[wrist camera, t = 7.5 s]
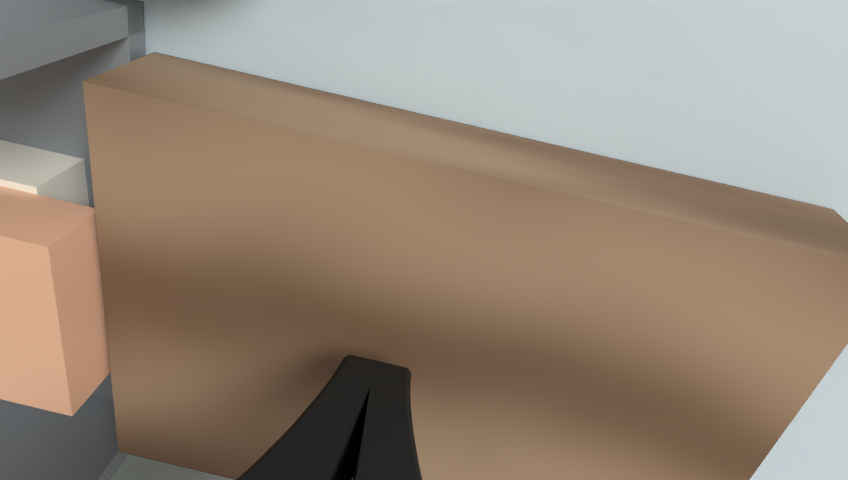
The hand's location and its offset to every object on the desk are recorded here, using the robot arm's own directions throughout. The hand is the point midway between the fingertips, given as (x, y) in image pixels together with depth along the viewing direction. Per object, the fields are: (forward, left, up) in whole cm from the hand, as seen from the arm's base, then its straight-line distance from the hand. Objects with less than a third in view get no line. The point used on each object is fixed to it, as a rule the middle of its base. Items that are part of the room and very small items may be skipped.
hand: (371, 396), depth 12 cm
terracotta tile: (0, +9, -1) cm, 9 cm away
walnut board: (0, -1, -3) cm, 4 cm away
